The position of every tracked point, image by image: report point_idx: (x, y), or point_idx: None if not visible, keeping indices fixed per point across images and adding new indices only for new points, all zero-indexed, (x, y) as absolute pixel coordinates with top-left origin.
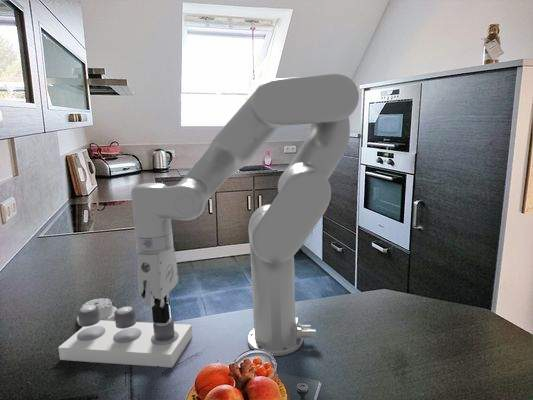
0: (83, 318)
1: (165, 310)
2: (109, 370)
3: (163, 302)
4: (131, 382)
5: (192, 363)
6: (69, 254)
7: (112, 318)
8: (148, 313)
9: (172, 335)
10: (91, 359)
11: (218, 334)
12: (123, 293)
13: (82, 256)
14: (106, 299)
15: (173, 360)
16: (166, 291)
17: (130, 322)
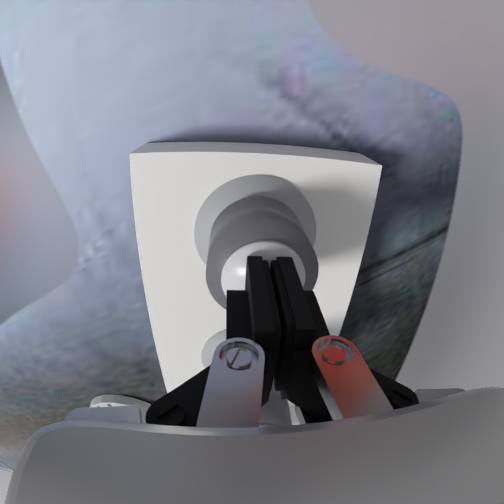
0: None
1: (309, 308)
2: (349, 321)
3: (334, 366)
4: (407, 249)
5: (336, 85)
6: (16, 457)
7: (128, 401)
8: (65, 340)
9: (274, 200)
10: None
11: (124, 42)
12: (34, 400)
13: (8, 448)
14: None
15: (351, 155)
16: (463, 433)
17: (274, 389)
